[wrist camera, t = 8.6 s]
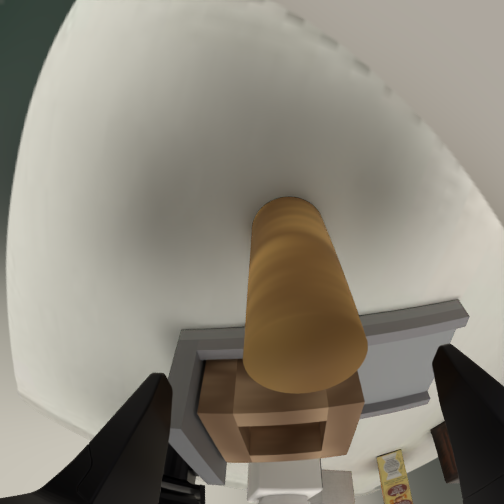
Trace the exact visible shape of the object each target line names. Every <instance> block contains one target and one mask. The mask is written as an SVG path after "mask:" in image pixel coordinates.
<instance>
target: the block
mask: <svg viewBox="0 0 504 504" xmlns="http://www.w3.org/2000/svg"><path fill="white" fill-rule="evenodd" d="M364 403H365V400H364V396H363V392H362V388H361V383H360V379H359V375H358V371H356V372H355V373H354V374H353V375H352V376H350V377H349V378H348V379H346V380H344V381H343V382H341V383H339V384H337V385H335V386H333V387H330V388H328V389H324V390H321V391H316V392H311V393H300V394H296V393H284V392H278V391H274V390H271V389H268V388H266V387H264V386H262V385H260V384H258V383H257V382H256V381H254V380H253V379H252V378H251V377H250V376H249V375H248V373H247V371H246V370H245V367H244V364H243V359H215V360H206V365H205V370H204V376H203V382H202V388H201V393H200V399H199V405H198V411H197V414H198V416H199V417H200V419H201V421H202V423H203V424H204V426H205V428H206V430H207V431H208V433H209V435H210V436H211V438H212V440H213V441H214V443H215V445H216V446H217V448H218V450H219V451H220V453H221V455H222V456H223V458H224V459H225V461H226V462H231V463H258V462H283V461H297V460H309V459H318V458H326V457H334V456H341V455H347V452H348V449H349V447H350V444H351V441H352V439H353V436H354V433H355V430H356V427H357V424H358V421H359V418H360V415H361V412H362V409H363V406H364Z"/></svg>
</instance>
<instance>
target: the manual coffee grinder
mask: <svg viewBox="0 0 504 504" xmlns="http://www.w3.org/2000/svg"><path fill="white" fill-rule="evenodd" d="M431 434H432V436H433V440H434V443H435V446H436V450H437V453H438V457H439V460H440V464H441V467H442V471H443V474H444V478H445V481H446V483H460V482H459V477H458V472H457V467H456V463H455V458H454V454H453V450H452V446H451V442H450V438H449V434H448V431H447V427H446V423H445V421H444V422H443V423H441V424H440V425H438V426H436V427H435V428H433V429H432V430H431Z"/></svg>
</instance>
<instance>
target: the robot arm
mask: <svg viewBox="0 0 504 504" xmlns="http://www.w3.org/2000/svg"><path fill="white" fill-rule="evenodd" d="M432 368H433V373H434V377H435V382H436V387H437V392H438V397H439V402H440V406H441V410H442V413H443V417H444V420H445V423H446V427H447V431H448V434H449V438H450V442H451V446H452V450H453V454H454V458H455V463H456V467H457V472H458V477H459V482H460V487H461V492H462V498H463V504H504V386H503V385H501V384H500V383H499V382H498V381H497V380H495V379H494V378H493V377H492V376H490V375H489V374H488V373H487V372H486V371H484V370H483V369H482V368H481V367H479V366H478V365H477V364H476V363H474V362H473V361H472V360H471V359H470V358H468V357H467V356H466V355H464V354H463V353H462V352H461V351H459V350H458V349H457V348H456V347H454V346H453V345H452V344H449V343H448V344H444V345H440V346H439V347H438V349H437V351H436V354H435V356H434V358H433V361H432ZM172 397H173V390H172V386H171V385H170V383H169V381H168V379H167V377H166V375H165V374H163V373H152V374H150V375H149V377H148V378H147V379H146V380H145V381H144V382H143V383H142V384H141V385H140V387H139V388H138V389H137V390H136V391H135V392H134V393H133V394H132V396H131V397H130V398H129V399H128V400H127V401H126V402H125V403H124V405H123V406H122V407H121V408H120V409H119V410H118V411H117V412H116V413H115V415H114V416H113V417H112V418H111V419H110V420H109V421H108V422H107V424H106V425H105V426H104V427H103V428H102V429H101V430H100V431H99V432H98V434H97V435H96V436H95V437H94V438H93V439H92V440H91V441H90V442H89V444H88V445H87V446H86V447H85V448H84V449H83V450H82V451H81V452H80V453H79V454H78V455H77V457H76V458H75V459H74V460H73V461H72V462H70V463H69V464H68V465H67V466H66V467H65V468H64V469H63V470H62V471H61V472H59V473H58V474H57V475H56V476H55V477H54V478H53V479H51V480H50V481H49V482H48V483H47V484H46V485H44V486H43V487H42V488H40V489H38V490H37V491H34V492H31V493H27V494H22V495H17V496H11V497H5V498H0V504H205V485H196V484H195V479H196V476H199V475H198V474H197V473H196V472H195V471H194V470H193V469H192V468H191V467H190V466H189V465H188V464H187V462H186V461H185V460H184V459H183V458H182V457H181V456H180V455H179V454H178V453H177V451H176V450H175V449H174V448H173V447H172V446H171V445H170V443H169V436H170V427H171V411H172Z"/></svg>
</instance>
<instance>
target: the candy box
mask: <svg viewBox="0 0 504 504" xmlns="http://www.w3.org/2000/svg"><path fill="white" fill-rule="evenodd" d="M377 463H378V469H379V475H380V482H381V488H382V494H383V500H384V504H413V501H412V497H411V492H410V487H409V482H408V478H407V474H406V469H405V465H404V460H403V456H402V452H401V450H398V451H395V452H392V453H389V454H386V455H383V456H379V457H377Z"/></svg>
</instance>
